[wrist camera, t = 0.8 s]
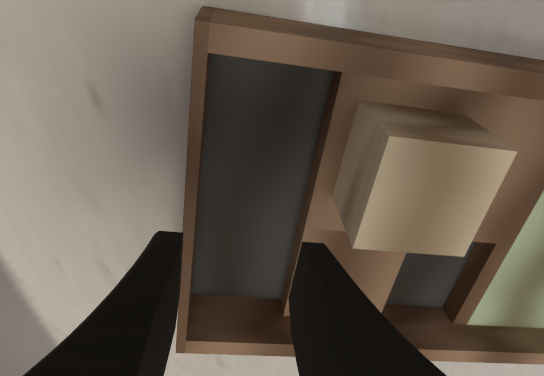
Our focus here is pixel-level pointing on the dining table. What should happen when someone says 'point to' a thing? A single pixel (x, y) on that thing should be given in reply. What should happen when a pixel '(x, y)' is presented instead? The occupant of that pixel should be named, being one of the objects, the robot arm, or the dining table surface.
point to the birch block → (417, 179)
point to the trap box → (322, 179)
